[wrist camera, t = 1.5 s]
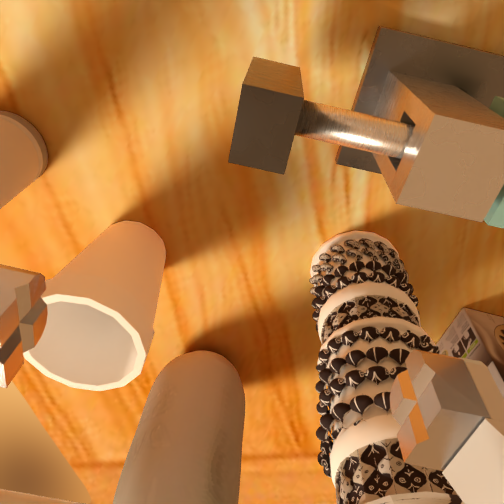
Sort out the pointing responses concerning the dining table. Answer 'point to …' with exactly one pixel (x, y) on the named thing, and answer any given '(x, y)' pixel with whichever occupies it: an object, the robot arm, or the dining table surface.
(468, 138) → the bearing stand
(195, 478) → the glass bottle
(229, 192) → the dining table surface
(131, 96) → the dining table surface
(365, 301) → the decorative candle
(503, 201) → the block
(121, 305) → the foam cup
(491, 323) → the coffee box
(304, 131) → the shaft
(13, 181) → the travel mug
